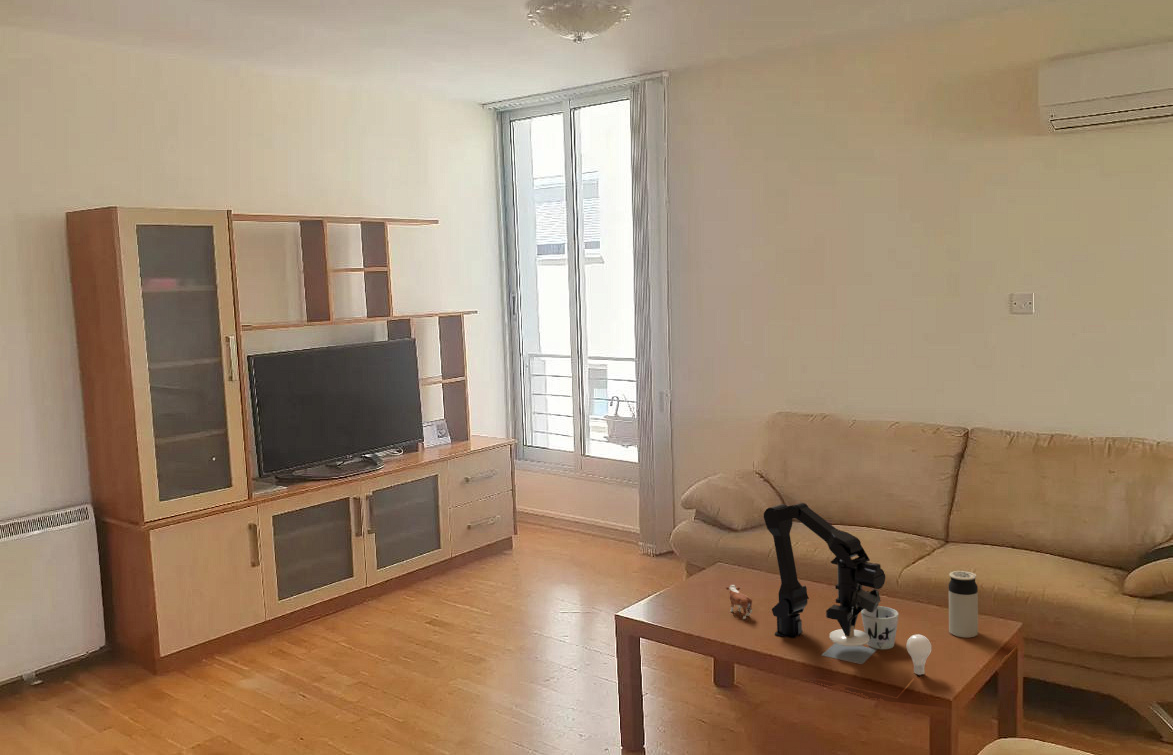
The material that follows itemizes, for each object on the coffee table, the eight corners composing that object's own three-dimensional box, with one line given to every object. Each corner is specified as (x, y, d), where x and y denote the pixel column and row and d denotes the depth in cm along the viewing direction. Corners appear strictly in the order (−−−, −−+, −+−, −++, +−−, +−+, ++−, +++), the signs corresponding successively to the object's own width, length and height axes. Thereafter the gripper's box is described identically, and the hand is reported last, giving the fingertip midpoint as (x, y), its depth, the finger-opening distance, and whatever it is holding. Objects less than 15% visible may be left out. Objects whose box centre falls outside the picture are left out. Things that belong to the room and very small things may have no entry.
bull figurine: (735, 606, 306) (735, 582, 305) (755, 619, 293) (754, 594, 292) (723, 608, 304) (723, 584, 304) (743, 621, 292) (742, 596, 291)
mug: (862, 651, 264) (861, 617, 263) (860, 631, 279) (859, 599, 278) (900, 653, 262) (900, 619, 261) (896, 633, 276) (896, 601, 275)
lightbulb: (906, 678, 245) (905, 638, 244) (907, 668, 251) (906, 629, 250) (931, 680, 243) (931, 640, 242) (931, 671, 249) (931, 631, 248)
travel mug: (954, 638, 270) (954, 579, 268) (945, 628, 278) (944, 570, 276) (982, 637, 269) (981, 578, 268) (971, 627, 277) (971, 569, 276)
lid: (823, 641, 261) (823, 628, 261) (838, 628, 270) (838, 616, 270) (861, 649, 255) (861, 636, 254) (875, 636, 264) (875, 623, 263)
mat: (821, 656, 262) (821, 655, 262) (837, 642, 271) (837, 641, 271) (862, 665, 255) (862, 664, 255) (877, 650, 264) (877, 649, 264)
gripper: (864, 595, 249) (865, 651, 250) (887, 576, 263) (888, 628, 265) (824, 588, 255) (826, 643, 257) (850, 570, 270) (851, 621, 272)
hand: (849, 634), depth 262 cm, fingers closed on lid, 3 cm apart
